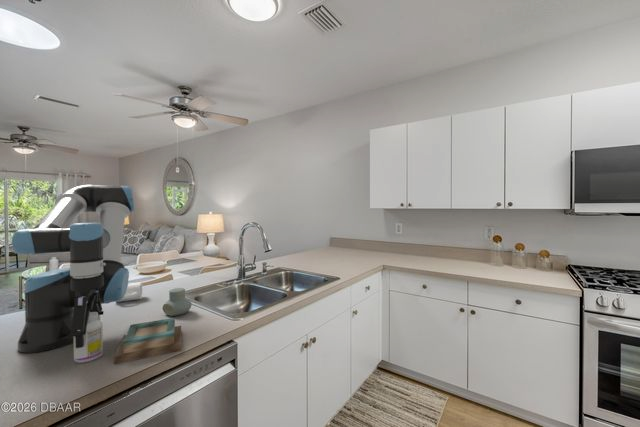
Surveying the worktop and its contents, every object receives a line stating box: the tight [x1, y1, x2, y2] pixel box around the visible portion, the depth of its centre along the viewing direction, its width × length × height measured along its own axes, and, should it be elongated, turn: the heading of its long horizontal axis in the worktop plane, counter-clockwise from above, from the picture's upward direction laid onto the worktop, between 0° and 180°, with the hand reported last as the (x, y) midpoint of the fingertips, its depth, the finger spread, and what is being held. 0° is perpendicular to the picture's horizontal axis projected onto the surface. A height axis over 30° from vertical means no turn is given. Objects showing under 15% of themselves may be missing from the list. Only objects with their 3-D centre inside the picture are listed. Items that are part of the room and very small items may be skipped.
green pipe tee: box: [162, 287, 193, 317], centre depth 116 cm, size 11×8×10 cm
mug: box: [115, 282, 143, 303], centre depth 131 cm, size 12×10×8 cm
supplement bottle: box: [72, 312, 104, 364], centre depth 82 cm, size 7×7×13 cm
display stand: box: [113, 317, 182, 365], centre depth 89 cm, size 17×15×6 cm
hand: (88, 346), depth 82 cm, fingers open, 13 cm apart
